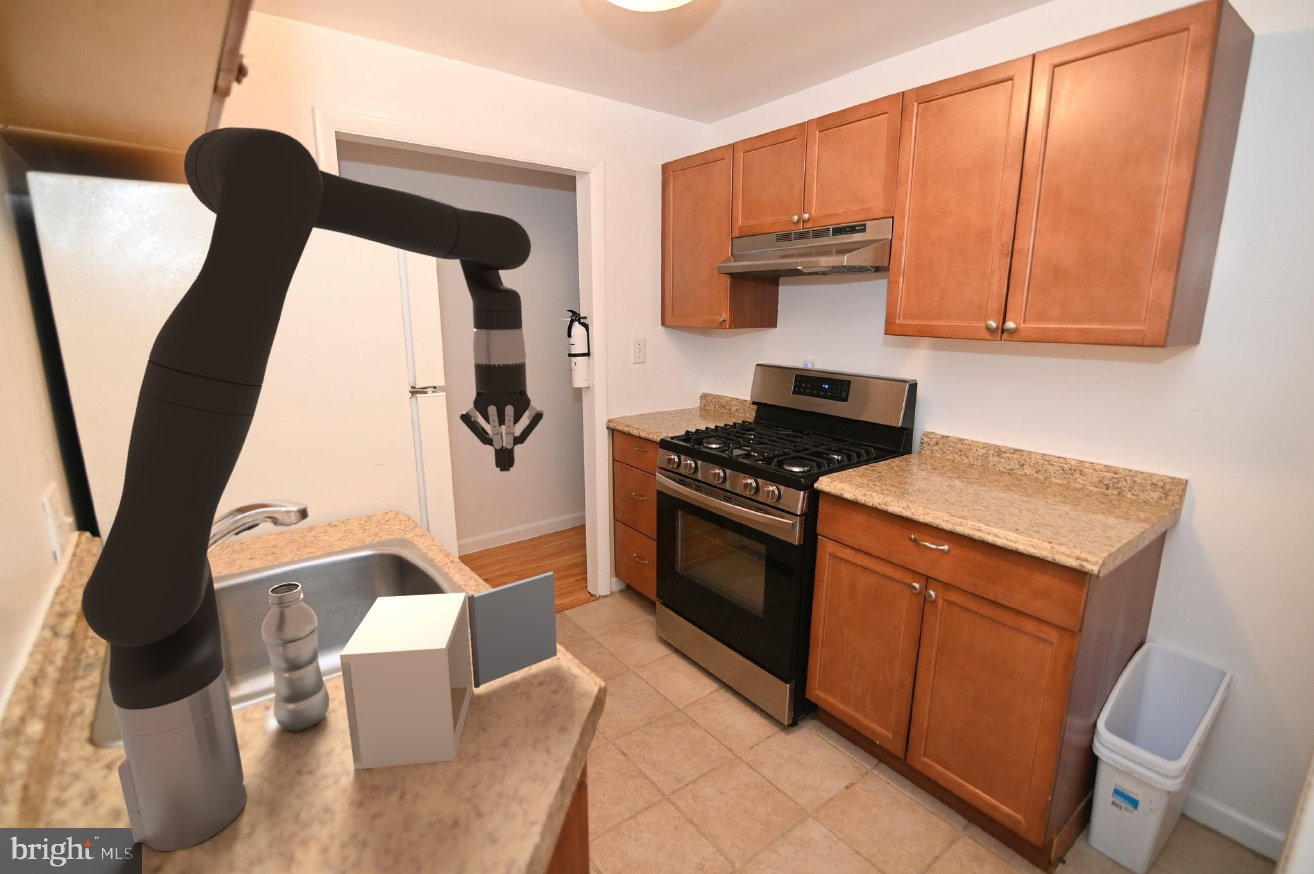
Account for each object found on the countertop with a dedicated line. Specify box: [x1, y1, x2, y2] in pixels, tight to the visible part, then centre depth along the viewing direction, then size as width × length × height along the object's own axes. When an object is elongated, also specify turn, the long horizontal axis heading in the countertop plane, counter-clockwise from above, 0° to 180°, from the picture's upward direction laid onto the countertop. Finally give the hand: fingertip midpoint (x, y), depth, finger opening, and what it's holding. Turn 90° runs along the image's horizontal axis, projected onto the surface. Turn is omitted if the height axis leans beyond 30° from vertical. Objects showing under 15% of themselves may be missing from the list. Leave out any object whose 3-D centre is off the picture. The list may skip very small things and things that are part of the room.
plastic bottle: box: [260, 581, 330, 732], centre depth 80 cm, size 6×7×20 cm
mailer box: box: [339, 592, 474, 770], centre depth 79 cm, size 12×14×16 cm
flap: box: [466, 571, 558, 689], centre depth 90 cm, size 1×14×15 cm, turn 127°
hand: (505, 470), depth 93 cm, fingers closed
